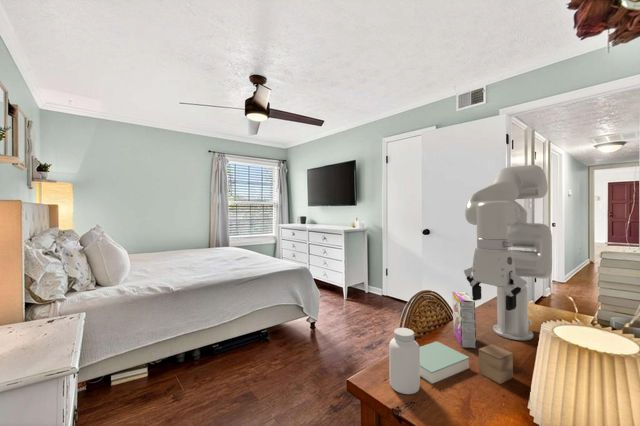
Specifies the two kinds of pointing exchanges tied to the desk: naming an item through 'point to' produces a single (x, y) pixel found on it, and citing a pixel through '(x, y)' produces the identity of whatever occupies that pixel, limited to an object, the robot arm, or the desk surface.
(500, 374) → the walnut block
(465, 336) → the candy bar box
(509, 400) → the desk surface
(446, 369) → the book
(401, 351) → the pill bottle
